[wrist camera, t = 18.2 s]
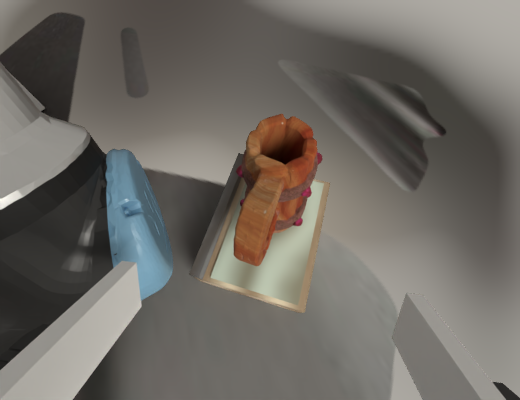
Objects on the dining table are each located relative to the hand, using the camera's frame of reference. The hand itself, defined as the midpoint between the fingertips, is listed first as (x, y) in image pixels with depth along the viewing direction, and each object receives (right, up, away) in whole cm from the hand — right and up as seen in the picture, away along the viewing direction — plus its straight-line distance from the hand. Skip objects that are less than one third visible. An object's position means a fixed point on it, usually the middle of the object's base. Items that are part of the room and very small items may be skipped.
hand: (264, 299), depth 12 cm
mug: (+1, +1, +21) cm, 21 cm away
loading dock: (+1, 0, +25) cm, 25 cm away
